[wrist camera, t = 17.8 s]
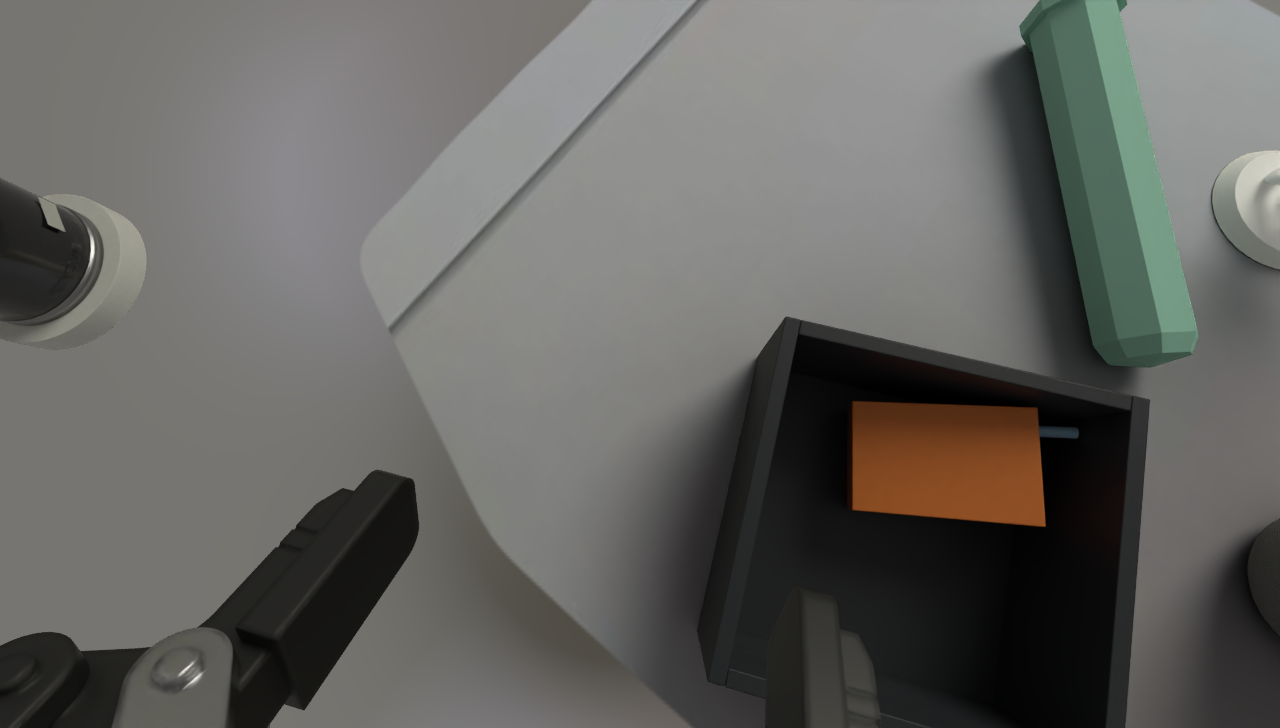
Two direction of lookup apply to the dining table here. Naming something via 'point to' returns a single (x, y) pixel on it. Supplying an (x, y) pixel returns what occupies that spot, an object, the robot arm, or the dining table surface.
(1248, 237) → the figurine
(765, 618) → the bin
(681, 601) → the dining table surface
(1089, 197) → the container
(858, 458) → the juice box
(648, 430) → the dining table surface
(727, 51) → the dining table surface
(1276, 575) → the smart speaker
